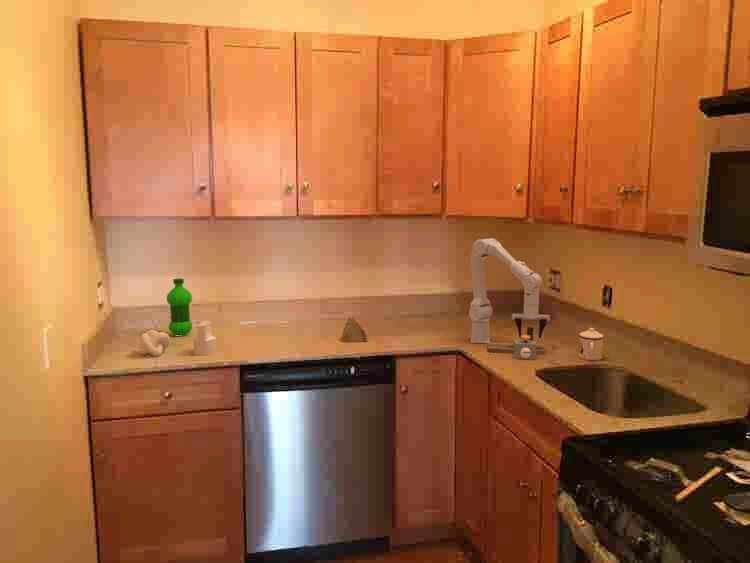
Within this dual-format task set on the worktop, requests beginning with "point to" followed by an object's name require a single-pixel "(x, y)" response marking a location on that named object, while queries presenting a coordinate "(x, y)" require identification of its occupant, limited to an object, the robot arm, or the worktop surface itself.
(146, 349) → the beige knot
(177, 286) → the plastic bottle
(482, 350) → the worktop surface
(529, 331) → the carriage
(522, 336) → the button
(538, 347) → the guide rail
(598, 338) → the teacup with lid
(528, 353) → the gauge box
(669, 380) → the worktop surface
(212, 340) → the cylinder with rectangular tab
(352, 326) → the rock
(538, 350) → the board
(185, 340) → the worktop surface
